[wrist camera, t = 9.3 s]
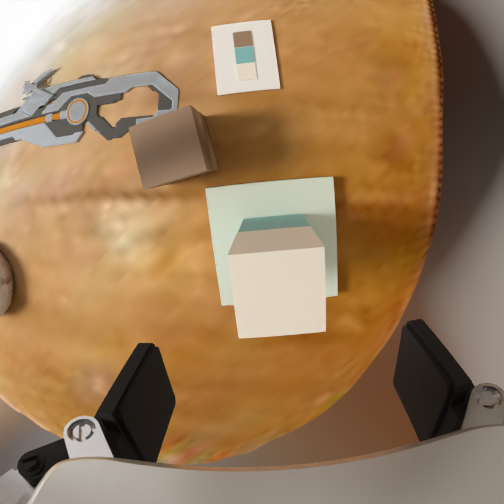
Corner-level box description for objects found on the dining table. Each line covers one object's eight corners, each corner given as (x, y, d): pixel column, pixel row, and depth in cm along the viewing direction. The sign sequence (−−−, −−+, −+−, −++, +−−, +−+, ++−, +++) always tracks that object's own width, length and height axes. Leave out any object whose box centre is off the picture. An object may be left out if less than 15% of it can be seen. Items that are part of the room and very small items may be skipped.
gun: (180, 136, 29) (184, 47, 26) (174, 134, 27) (179, 41, 24) (-39, 168, 30) (-37, 109, 27) (-48, 170, 28) (-46, 109, 25)
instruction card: (211, 27, 25) (210, 26, 24) (270, 20, 24) (270, 19, 24) (217, 95, 27) (217, 95, 26) (280, 88, 26) (280, 88, 26)
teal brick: (243, 218, 29) (237, 232, 23) (301, 213, 29) (310, 226, 23) (249, 273, 30) (245, 299, 25) (305, 269, 30) (313, 293, 24)
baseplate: (207, 187, 29) (205, 188, 28) (330, 176, 28) (333, 176, 27) (223, 301, 33) (221, 305, 32) (335, 291, 32) (337, 295, 31)
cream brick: (237, 232, 23) (227, 255, 17) (310, 225, 23) (324, 246, 17) (245, 298, 25) (238, 338, 19) (313, 293, 24) (325, 331, 19)
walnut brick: (153, 133, 28) (128, 127, 22) (205, 116, 27) (190, 105, 22) (166, 184, 29) (144, 189, 24) (218, 169, 29) (207, 170, 23)
